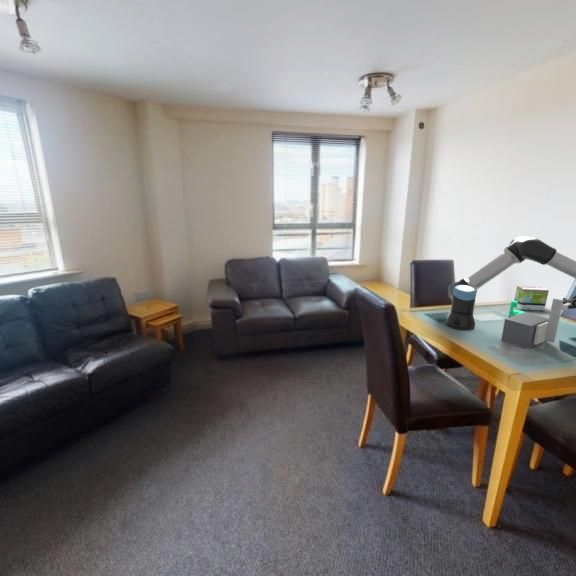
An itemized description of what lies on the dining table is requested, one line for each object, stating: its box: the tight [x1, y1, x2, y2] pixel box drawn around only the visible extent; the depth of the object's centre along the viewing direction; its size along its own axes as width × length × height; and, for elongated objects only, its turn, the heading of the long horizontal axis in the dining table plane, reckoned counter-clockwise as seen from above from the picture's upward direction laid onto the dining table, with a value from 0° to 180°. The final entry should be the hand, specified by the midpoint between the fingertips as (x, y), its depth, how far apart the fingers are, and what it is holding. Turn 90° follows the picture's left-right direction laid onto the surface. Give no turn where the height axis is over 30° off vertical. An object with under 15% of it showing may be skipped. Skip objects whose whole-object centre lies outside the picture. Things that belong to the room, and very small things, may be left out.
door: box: [533, 298, 563, 346], centre depth 157 cm, size 10×5×22 cm, turn 120°
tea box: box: [513, 285, 550, 311], centre depth 218 cm, size 15×10×15 cm, turn 81°
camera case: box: [500, 311, 549, 350], centre depth 166 cm, size 20×12×12 cm, turn 120°
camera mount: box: [508, 299, 525, 318], centre depth 203 cm, size 12×8×10 cm, turn 143°
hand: (563, 307), depth 162 cm, fingers closed
